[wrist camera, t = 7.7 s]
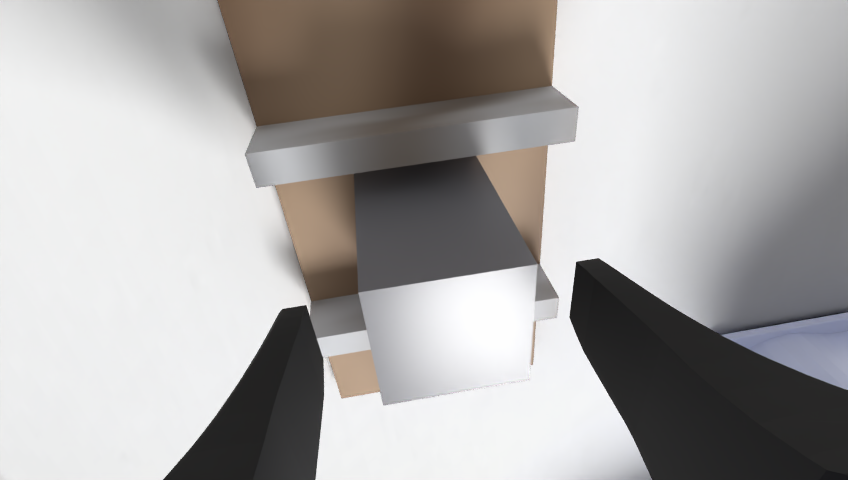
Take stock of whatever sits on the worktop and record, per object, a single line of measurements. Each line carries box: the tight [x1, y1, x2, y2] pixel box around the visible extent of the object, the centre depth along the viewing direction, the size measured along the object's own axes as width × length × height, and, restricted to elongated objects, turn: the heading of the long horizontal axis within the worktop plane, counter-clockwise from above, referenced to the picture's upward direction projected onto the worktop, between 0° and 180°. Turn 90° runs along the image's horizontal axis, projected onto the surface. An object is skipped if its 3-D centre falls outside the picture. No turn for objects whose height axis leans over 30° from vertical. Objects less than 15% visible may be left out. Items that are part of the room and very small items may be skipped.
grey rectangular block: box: [354, 156, 538, 405], centre depth 14 cm, size 4×4×6 cm
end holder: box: [217, 0, 579, 398], centre depth 16 cm, size 9×18×3 cm, turn 5°
